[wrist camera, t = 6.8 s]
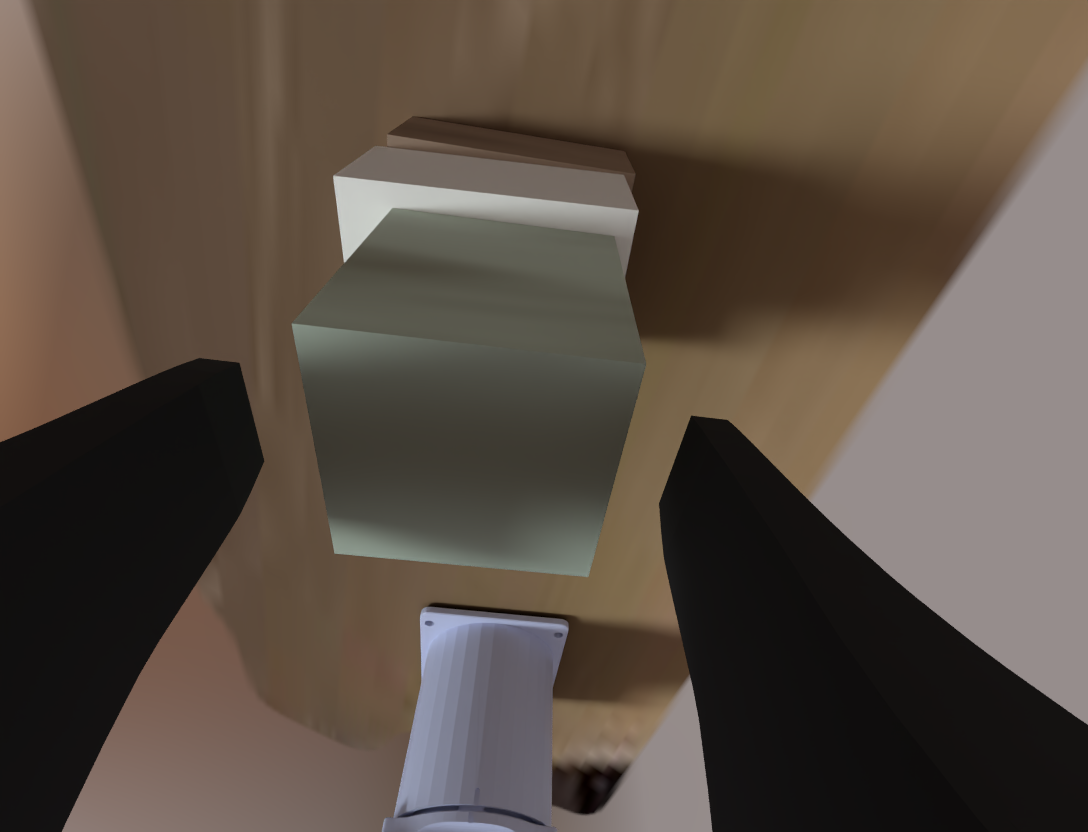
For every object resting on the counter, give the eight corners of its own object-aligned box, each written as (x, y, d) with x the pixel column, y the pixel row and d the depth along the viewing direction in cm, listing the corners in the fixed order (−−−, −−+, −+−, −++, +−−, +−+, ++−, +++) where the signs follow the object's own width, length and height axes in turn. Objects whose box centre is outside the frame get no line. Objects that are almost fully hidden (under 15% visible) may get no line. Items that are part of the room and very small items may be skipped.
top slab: (586, 380, 17) (591, 441, 14) (392, 360, 16) (364, 420, 14) (623, 174, 13) (639, 210, 11) (375, 145, 13) (333, 176, 10)
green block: (579, 411, 14) (588, 576, 10) (401, 392, 13) (334, 553, 9) (614, 236, 11) (646, 364, 7) (392, 208, 11) (291, 323, 7)
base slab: (585, 332, 19) (588, 378, 17) (415, 309, 19) (394, 353, 16) (624, 149, 15) (635, 173, 13) (414, 115, 15) (386, 134, 13)
